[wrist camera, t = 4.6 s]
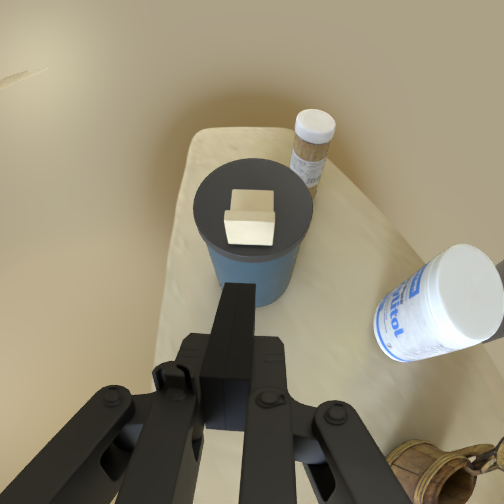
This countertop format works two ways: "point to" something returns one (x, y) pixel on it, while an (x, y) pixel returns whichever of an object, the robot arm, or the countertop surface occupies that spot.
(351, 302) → the countertop surface
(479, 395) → the countertop surface
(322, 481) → the robot arm
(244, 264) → the tumbler
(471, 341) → the supplement tub
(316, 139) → the sprinkles bottle
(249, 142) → the countertop surface
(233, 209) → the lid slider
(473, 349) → the countertop surface
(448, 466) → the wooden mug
